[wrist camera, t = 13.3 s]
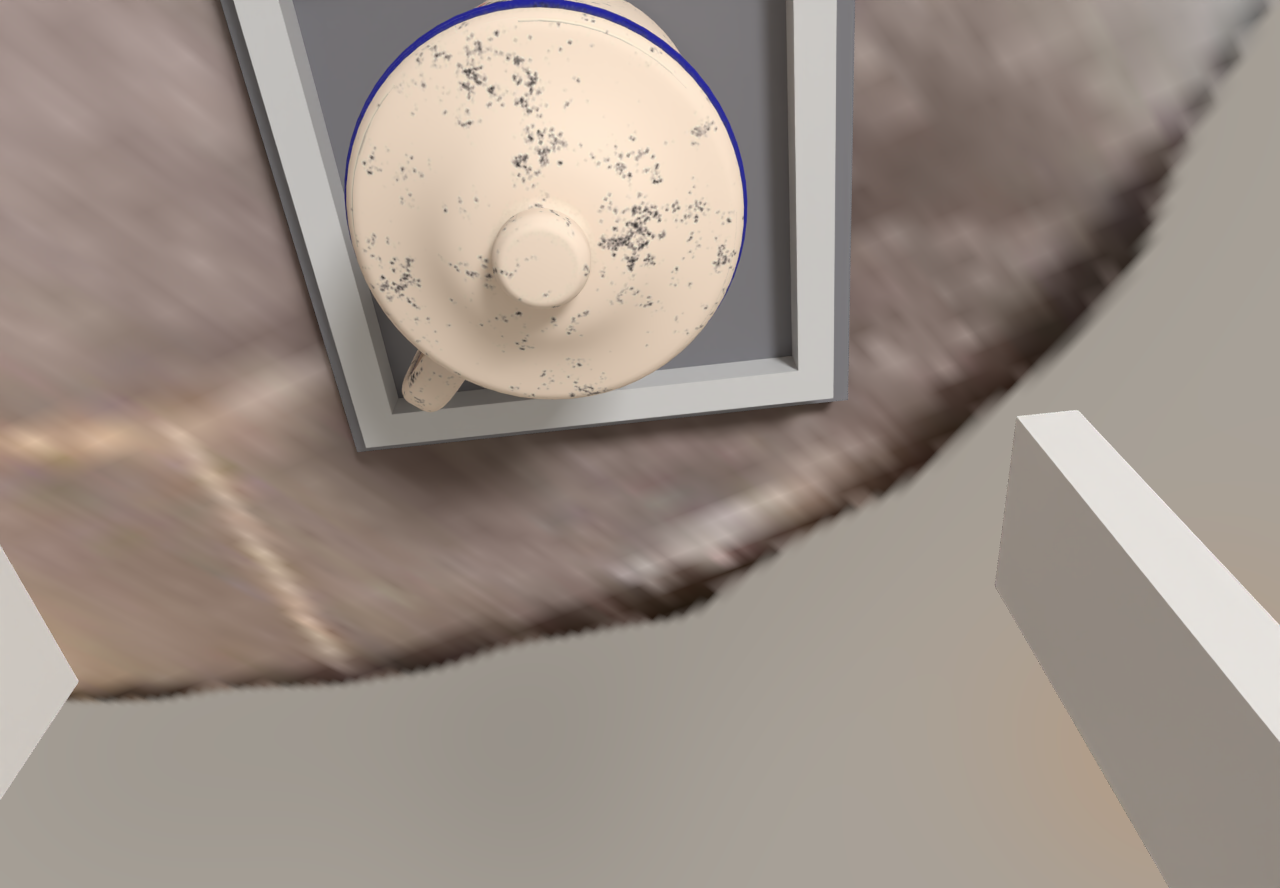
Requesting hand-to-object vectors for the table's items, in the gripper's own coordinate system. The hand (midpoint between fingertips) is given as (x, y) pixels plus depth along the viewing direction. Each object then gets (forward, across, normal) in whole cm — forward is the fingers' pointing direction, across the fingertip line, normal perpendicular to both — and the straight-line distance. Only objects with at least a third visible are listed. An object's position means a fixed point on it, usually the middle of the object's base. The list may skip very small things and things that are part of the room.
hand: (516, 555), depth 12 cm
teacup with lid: (+20, -1, 0) cm, 20 cm away
